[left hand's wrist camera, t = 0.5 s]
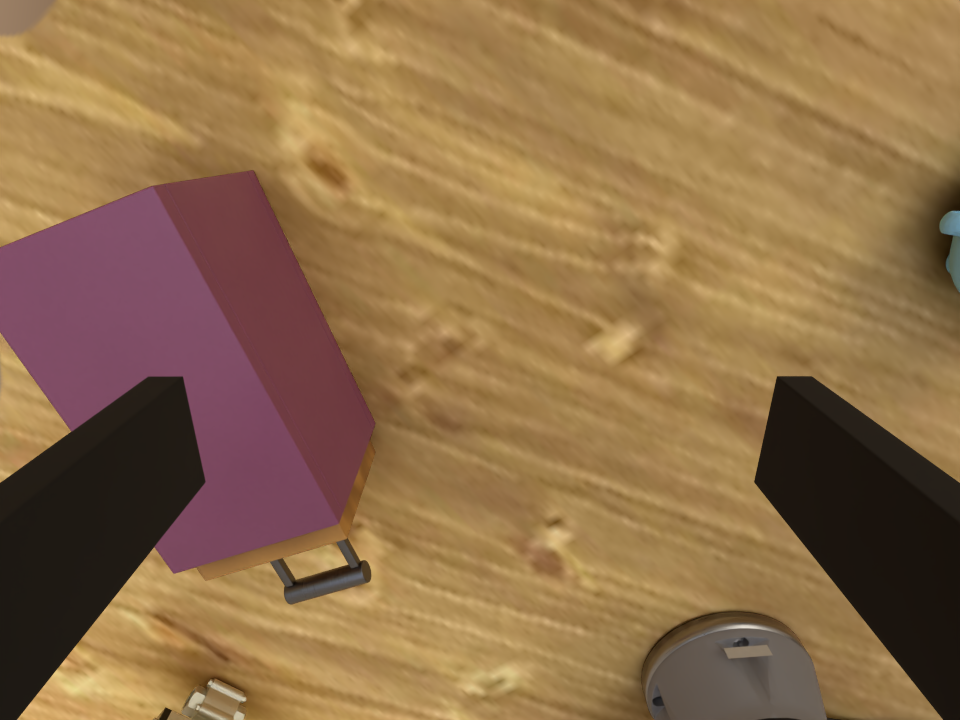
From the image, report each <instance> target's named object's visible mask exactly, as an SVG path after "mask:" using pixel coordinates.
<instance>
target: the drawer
mask: <svg viewBox="0 0 960 720" xmlns="http://www.w3.org/2000/svg"><path fill="white" fill-rule="evenodd" d="M374 455H375V450H374V448H373V446H372V444H371V442H370V440H369V443H368V446H367V449H366V451H365V454H364V457H363V460H362V462H361V465H360V468H359V471H358V473H357V476H356V479H355V482H354V484H353V487H352V490H351V493H350V495H349V498H348V501H347V504H346V506H345V509H344V512H343V514H342V517H341V520H340V523H339V524H337V525H334V526H330V527H327V528H324V529H321V530H317V531H314V532H311V533H307V534H304V535H301V536H297V537H294V538H291V539H287V540H284V541H281V542H277V543H274V544H271V545H268V546H264V547H261V548H258V549H254V550H251V551H248V552H244V553H241V554H238V555H234V556H231V557H228V558H224V559H221V560H218V561H215V562H211V563H208V564H205V565H201V566H198V567H196V568H197V569H198V571H199V572H200V574H201V575H202V576H203V578H204V579H205V581H207V580H210V579H214V578H217V577H220V576H224V575H227V574H231V573H234V572H237V571H241V570H244V569H247V568H251V567H254V566H257V565H261V564H264V563H268V562H270V563H271V564H272V566H273V568H274V569H275V571H276V572H277V574H278V575H279V577H280V579H281V580H282V582H283V583H284V585H285V587H284V596H285V599H286V601H287V603H288V604H295V603H298V602H302V601H305V600H309V599H312V598H316V597H319V596H323V595H326V594H330V593H333V592H337V591H340V590H344V589H347V588H351V587H355V586H358V585H362V584H365V583H368V582H370V580H371V569H370V566H369V564H368V562H367V561H366V560H363V561H360V560H359V558H358V556H357V554H356V552H355V551H354V549H353V547H352V545H351V543H350V542H349V540H348V538H347V537H348V534H349V531H350V528H351V525H352V522H353V519H354V516H355V513H356V510H357V507H358V504H359V501H360V497H361V494H362V491H363V488H364V485H365V482H366V479H367V476H368V473H369V470H370V467H371V464H372V461H373V458H374ZM335 542H336V543H337V545H338V546H339V548H340V550H341V552H342V553H343V555H344V557H345V559H346V561H347V562H348V564H349V565H345V566H342V567H339V568H335V569H332V570H328V571H325V572H321V573H318V574H315V575H311V576H308V577H304V578H301V579H297V580H295V578H294V576H293V574H292V573H291V571H290V570H289V568H288V566H287V565H286V563H285V561H284V560H283V558H284V557H288V556H291V555H294V554H298V553H301V552H305V551H308V550H311V549H315V548H318V547H321V546H325V545H328V544H331V543H335Z"/></svg>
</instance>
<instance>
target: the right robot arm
mask: <svg viewBox="0 0 960 720" xmlns="http://www.w3.org/2000/svg"><path fill="white" fill-rule="evenodd" d="M641 678H642V688H643V692H644V695H645V699H646V702H647V705H648V709H649V711H650V713H651V716H652V717H653V719H654V720H839V719H832V718H827V717H826V713H825V709H824V705H823V701H822V697H821V693H820V689H819V684H818V680H817V676H816V672H815V668H814V665H813V662H812V660H811V658H810V656H809V654H808V653H807V651H806V650H805V648H804V647H803V645H802V643H801V642H800V640H799V639H798V637H797V636H796V635H795V634H794V632H793V631H791V630H790V629H789V628H788V627H787V626H785V625H784V624H782V623H781V622H779V621H777V620H775V619H772V618H770V617H767V616H764V615H760V614H755V613H748V612H725V613H718V614H712V615H708V616H704V617H701V618H698V619H695V620H692V621H690V622H688V623H686V624H683V625H681V626H680V627H678V628H676V629H675V630H673V631H672V632H670V633H669V634H667V635H666V636H665V637H664V638H663V639H661V640H660V641H659V642H658V643H657V645H656V646H655V647H654V648H653V649H652V651H651V652H650V654H649V655H648V657H647V659H646V661H645V664H644V666H643V670H642V677H641Z"/></svg>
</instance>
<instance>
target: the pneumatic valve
mask: <svg viewBox="0 0 960 720" xmlns="http://www.w3.org/2000/svg"><path fill="white" fill-rule="evenodd" d="M207 687H208V688H207V689H206V688H204V687H202V686H200V685H198V686H196V687H195V688H194V689H193V691H192V692H191V694H190V695H189V697H188V698H187V700H186V702H185V704H184V706H183V708H182V710H181V711H182V714H183V715H186V716H188V717H189V718H187V717H185V716H183V715H181V714H179V713H177V712H174V711H172V710H170V709H168V708H166V707H165V709H164V710H163V711H162V712H161V714H160V715H159V716H158V717H157V718H154V719H153V720H244V717H245V715H246V711H247V710H246V707H244V706H242V705H240V702H241V703H243V702H246V700H247V698H246V696H245V695H244V692H242V691H240V690H238V689H236V688H234V687H232V686H230V685H228V684H226V683H224V682H222V681H220V680H218V679H216V678H215V679H214V680H212V679H210V680H209V682H208V683H207Z"/></svg>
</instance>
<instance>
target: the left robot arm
mask: <svg viewBox="0 0 960 720" xmlns="http://www.w3.org/2000/svg"><path fill="white" fill-rule="evenodd" d="M205 482H206V481H205V476H204V472H203V467H202V462H201V458H200V453H199V449H198V444H197V439H196V435H195V430H194V425H193V421H192V416H191V411H190V407H189V402H188V398H187V393H186V388H185V384H184V379H183V376H148V377H147V378H145V379H144V380H143V381H141V382H140V383H138V384H137V385H136V386H134V387H133V388H132V389H130V390H129V391H127V392H126V393H125V394H123V395H122V396H120V397H119V398H118V399H116V400H115V401H113V402H112V403H111V404H109V405H108V406H107V407H105V408H104V409H102V410H101V411H100V412H98V413H97V414H95V415H94V416H93V417H91V418H90V419H88V420H87V421H86V422H84V423H83V424H82V425H80V426H79V427H77V428H76V429H75V430H73V431H72V432H70V433H69V434H68V435H66V436H65V437H63V438H62V439H61V440H59V441H58V442H57V443H55V444H54V445H52V446H51V447H50V448H48V449H47V450H45V451H44V452H43V453H41V454H40V455H39V456H37V457H36V458H34V459H33V460H32V461H30V462H29V463H27V464H26V465H25V466H23V467H22V468H20V469H19V470H18V471H16V472H15V473H14V474H12V475H11V476H9V477H8V478H7V479H5V480H4V481H2V482H1V483H0V720H17V719H18V718H19V716H20V715H21V714H22V712H23V711H24V710H25V709H26V707H27V706H28V705H29V704H30V702H31V701H32V700H33V699H34V697H35V696H36V695H37V694H38V692H39V691H40V690H41V689H42V687H43V686H44V685H45V684H46V682H47V681H48V680H49V679H50V677H51V676H52V675H53V674H54V672H55V671H56V670H57V668H58V667H59V666H60V665H61V663H62V662H63V661H64V660H65V658H66V657H67V656H68V655H69V653H70V652H71V651H72V650H73V648H74V647H75V646H76V645H77V643H78V642H79V641H80V640H81V638H82V637H83V636H84V635H85V633H86V632H87V631H88V630H89V628H90V627H91V626H92V625H93V623H94V622H95V621H96V619H97V618H98V617H99V616H100V614H101V613H102V612H103V611H104V609H105V608H106V607H107V606H108V604H109V603H110V602H111V601H112V599H113V598H114V597H115V596H116V594H117V593H118V592H119V591H120V589H121V588H122V587H123V586H124V584H125V583H126V582H127V581H128V579H129V578H130V577H131V575H132V574H133V573H134V572H135V570H136V569H137V568H138V567H139V565H140V564H141V563H142V562H143V560H144V559H145V558H146V557H147V555H148V554H149V553H150V552H151V550H152V549H153V548H154V547H155V545H156V544H157V543H158V542H159V540H160V539H161V538H162V537H163V535H164V534H165V533H166V532H167V530H168V529H169V528H170V526H171V525H172V524H173V523H174V521H175V520H176V519H177V518H178V516H179V515H180V514H181V513H182V511H183V510H184V509H185V508H186V506H187V505H188V504H189V503H190V501H191V500H192V499H193V498H194V496H195V495H196V494H197V493H198V491H199V490H200V489H201V488H202V486H203V485H204V484H205ZM754 482H755V484H756V485H757V486H758V488H759V489H760V490H761V491H762V493H763V494H764V495H765V496H766V498H767V499H768V500H769V501H770V503H771V504H772V505H773V506H774V508H775V509H776V510H777V511H778V513H779V514H780V515H781V516H782V518H783V519H784V520H785V521H786V523H787V524H788V525H789V526H790V528H791V529H792V530H793V532H794V533H795V534H796V535H797V537H798V538H799V539H800V540H801V542H802V543H803V544H804V545H805V547H806V548H807V549H808V550H809V552H810V553H811V554H812V555H813V557H814V558H815V559H816V560H817V562H818V563H819V564H820V565H821V567H822V568H823V569H824V570H825V572H826V573H827V574H828V575H829V577H830V578H831V579H832V581H833V582H834V583H835V584H836V586H837V587H838V588H839V589H840V591H841V592H842V593H843V594H844V596H845V597H846V598H847V599H848V601H849V602H850V603H851V604H852V606H853V607H854V608H855V609H856V611H857V612H858V613H859V614H860V616H861V617H862V618H863V619H864V621H865V622H866V623H867V625H868V626H869V627H870V628H871V630H872V631H873V632H874V633H875V635H876V636H877V637H878V638H879V640H880V641H881V642H882V643H883V645H884V646H885V647H886V648H887V650H888V651H889V652H890V653H891V655H892V656H893V657H894V658H895V660H896V661H897V662H898V663H899V665H900V666H901V667H902V668H903V670H904V671H905V672H906V674H907V675H908V676H909V677H910V679H911V680H912V681H913V682H914V684H915V685H916V686H917V687H918V689H919V690H920V691H921V692H922V694H923V695H924V696H925V697H926V699H927V700H928V701H929V702H930V704H931V705H932V706H933V707H934V709H935V710H936V711H937V712H938V714H939V715H940V716H941V718H942V719H943V720H960V483H959V482H958V481H956V480H955V479H953V478H952V477H951V476H949V475H948V474H946V473H945V472H944V471H942V470H941V469H940V468H938V467H937V466H935V465H934V464H933V463H931V462H930V461H928V460H927V459H926V458H924V457H923V456H921V455H920V454H919V453H917V452H916V451H915V450H913V449H912V448H910V447H909V446H908V445H906V444H905V443H903V442H902V441H901V440H899V439H898V438H897V437H895V436H894V435H892V434H891V433H890V432H888V431H887V430H885V429H884V428H883V427H881V426H880V425H878V424H877V423H876V422H874V421H873V420H872V419H870V418H869V417H867V416H866V415H865V414H863V413H862V412H860V411H859V410H858V409H856V408H855V407H853V406H852V405H851V404H849V403H848V402H847V401H845V400H844V399H842V398H841V397H840V396H838V395H837V394H835V393H834V392H833V391H831V390H830V389H828V388H827V387H826V386H824V385H823V384H822V383H820V382H819V381H817V380H816V379H815V378H813V377H812V376H777V379H776V384H775V388H774V393H773V398H772V402H771V407H770V411H769V416H768V421H767V425H766V430H765V435H764V439H763V444H762V448H761V453H760V458H759V462H758V467H757V472H756V476H755V481H754Z"/></svg>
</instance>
